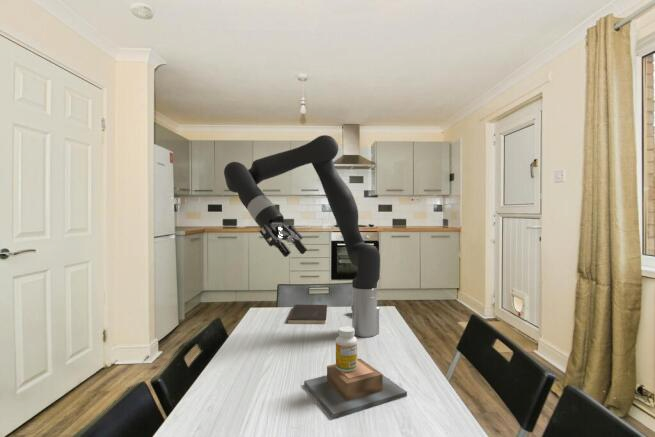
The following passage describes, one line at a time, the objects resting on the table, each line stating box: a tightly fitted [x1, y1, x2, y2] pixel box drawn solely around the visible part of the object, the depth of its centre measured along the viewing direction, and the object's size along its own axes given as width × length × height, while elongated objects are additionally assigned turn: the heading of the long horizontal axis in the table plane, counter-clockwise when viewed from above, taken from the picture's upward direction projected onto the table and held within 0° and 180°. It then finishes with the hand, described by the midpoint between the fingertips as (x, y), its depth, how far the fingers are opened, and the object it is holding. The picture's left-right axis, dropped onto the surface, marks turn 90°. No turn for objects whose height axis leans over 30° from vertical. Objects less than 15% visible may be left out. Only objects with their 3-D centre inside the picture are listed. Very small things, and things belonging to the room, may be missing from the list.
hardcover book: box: [286, 304, 328, 325], centre depth 144 cm, size 16×23×2 cm
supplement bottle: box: [335, 325, 358, 372], centre depth 82 cm, size 5×5×10 cm
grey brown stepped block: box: [303, 358, 408, 420], centre depth 81 cm, size 20×16×5 cm
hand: (296, 253), depth 93 cm, fingers open, 8 cm apart
